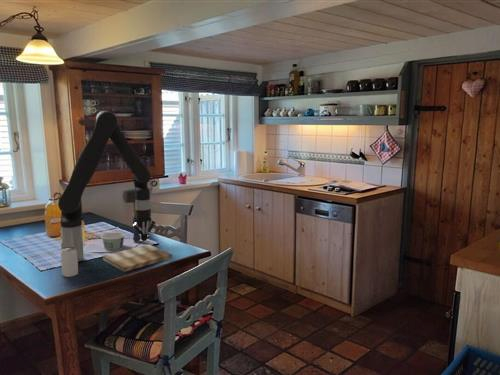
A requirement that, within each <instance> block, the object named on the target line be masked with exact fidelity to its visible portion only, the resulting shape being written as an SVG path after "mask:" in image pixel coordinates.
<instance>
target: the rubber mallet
mask: <svg viewBox="0 0 500 375" xmlns="http://www.w3.org/2000/svg"><path fill="white" fill-rule="evenodd" d="M135 192H136V191H135V188H131V189H130V188H129V189H126V190H123V191H122V201H123V202H124V203H126V204H129V203H133V217H132V225H134V224H135V223H136V222H135V221H136V209H135V202H136V196H135ZM137 226H138V225H137ZM132 228H133V227H132ZM138 229H139V226H138ZM139 230H140V229H139ZM132 240H133V242H134V243H139V242H140V240H141V234H139V233H137V232H136V231H135V230H134V228H133V237H132ZM138 241H139V242H138Z"/></svg>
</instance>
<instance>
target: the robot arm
mask: <svg viewBox="0 0 500 375" xmlns="http://www.w3.org/2000/svg"><path fill="white" fill-rule="evenodd" d="M118 123H119V122H118V118H117V116H116V114H114V113H113V112H112V111H109V110H101V111H99V112H98V113H97V114H96V117H95V125H94V129H93V131H92V134H91V136H90V138H89V140H88V141H87V143H86V144H85V145H84V147H83V148H82V150H81V151H80V153H79V154H78V158H77V159H76V162H75V165H74V168H73V170H72V172H71V176H70V179H69V181H68V184H67V186H66V187H65V189H64V190H63V192H62V194H61V196H60V197H59V199H58V203H57V205H58V209H59V210H60V211H61V213H60V214H61V217H60V233H61V234H60V235H61V243H60V250H61V251H62V248H64V247H69V246H73V247H76V250H77V260H78V262H80V261H83V260H84V258H85V256H84V240H83V238H84V237H83V223H82V221H83V208H82V207H83V206H82V204H83V202H82V196H83V193H84V190H85V189H86V187H87V185H88V184H89V183H90V181H91V180H92V177H94V175H95V173H96V170H97V169H98V168H99V164H100V162H101V159H102V157H103V154H104V152H105V149H106V145H107V143H108V141H109V140H110V141H111V142H112V144H113V145H114V147H115V149H116V151H117V152H118V155H119V157H120V158H121V159H122V160H123V162H124V164H125V165H126V167H127V168H128V169H129V170H131V172H132V174H133V176H132V179H133V180H132V181H133V185H134V186H133V187H134V189H135V191H136V192H135V196H136V202H135V209H136V221H135V222H136V223H135V224H134V225H133V224H131V228H134V229H133V231H134V230H135V231H136V232H137V233H139V234H140V240H141V241H142V242H145V241H147V240H148V233H151V231H152V229H153V228H154V226H155V224H156V221H155V220H154V221H153V220H152V217H151V216H152V208H151V207H152V205H151V195H150V194H151V191H150V188H149V186H148V183H149V182H150V181H151V178H152V176H151V173H150V171H149V169H148V168H147V166H146V165H145V164H144V162H142V161H141V159H140V157H139V155H138V154H137V151H135V149H134V148H133V146H132V145H131V144H130V142H129V141H128V140H127V139H126V137H125V136H124V134H123V133H122V130H121V128H120V126H119V124H118ZM137 225H138V226H139V229H140V230H139V229H138V226H137ZM61 251H60V252H61Z"/></svg>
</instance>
